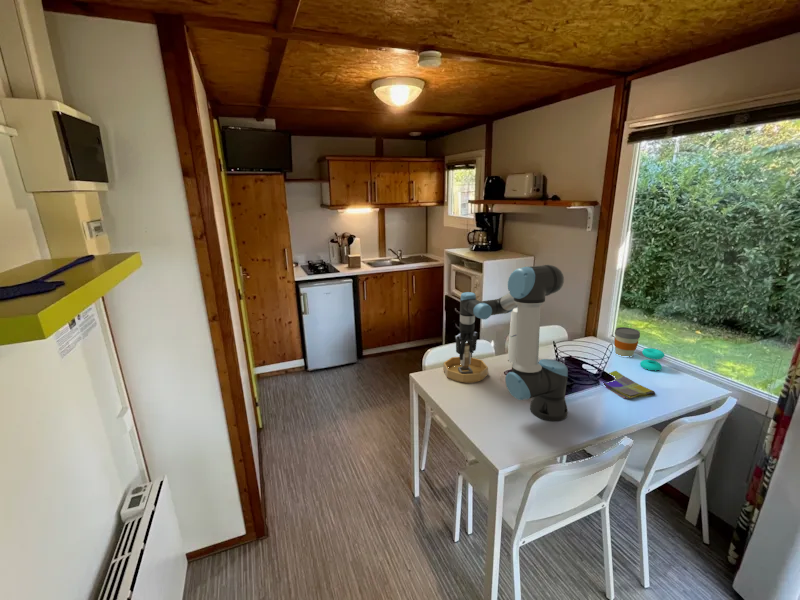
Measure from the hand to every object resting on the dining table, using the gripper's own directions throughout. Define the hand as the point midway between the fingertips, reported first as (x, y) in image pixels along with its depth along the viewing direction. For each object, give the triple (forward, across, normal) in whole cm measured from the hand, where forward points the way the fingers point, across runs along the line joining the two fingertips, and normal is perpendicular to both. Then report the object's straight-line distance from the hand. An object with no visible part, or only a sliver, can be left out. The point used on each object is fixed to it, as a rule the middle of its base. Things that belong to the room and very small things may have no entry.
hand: (465, 364), depth 198 cm
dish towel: (+6, -61, +46) cm, 76 cm away
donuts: (+5, -93, +40) cm, 102 cm away
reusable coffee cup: (+5, -97, +22) cm, 100 cm away
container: (+5, -35, 0) cm, 35 cm away
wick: (+2, 0, 0) cm, 2 cm away
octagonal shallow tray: (+5, 0, 0) cm, 5 cm away
